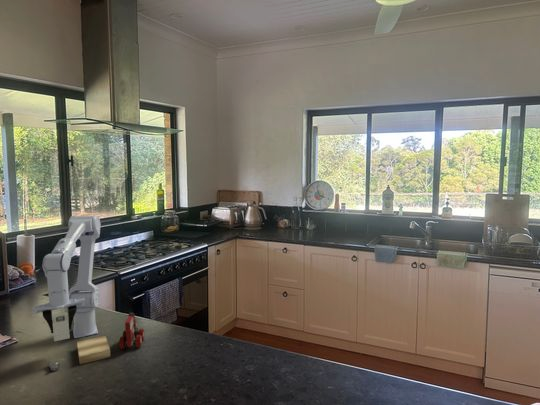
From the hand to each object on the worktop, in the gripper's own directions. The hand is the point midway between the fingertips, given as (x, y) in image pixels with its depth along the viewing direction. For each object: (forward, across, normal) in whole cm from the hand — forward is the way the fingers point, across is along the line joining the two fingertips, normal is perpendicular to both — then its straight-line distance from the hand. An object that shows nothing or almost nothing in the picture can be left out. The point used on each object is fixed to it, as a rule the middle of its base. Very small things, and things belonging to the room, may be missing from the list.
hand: (61, 330), depth 125 cm
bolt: (+9, -3, -7) cm, 12 cm away
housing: (+2, 0, 0) cm, 2 cm away
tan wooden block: (+9, +9, -3) cm, 13 cm away
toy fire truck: (+9, +21, -2) cm, 23 cm away
